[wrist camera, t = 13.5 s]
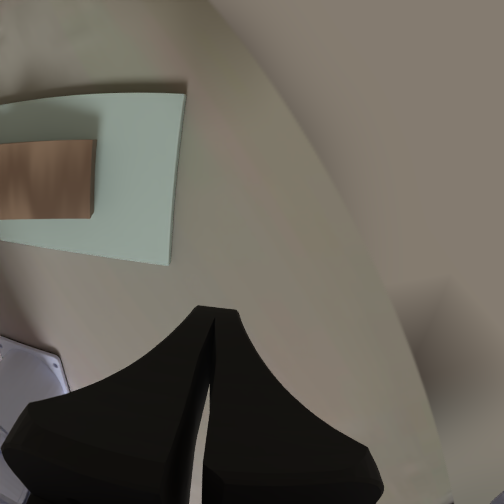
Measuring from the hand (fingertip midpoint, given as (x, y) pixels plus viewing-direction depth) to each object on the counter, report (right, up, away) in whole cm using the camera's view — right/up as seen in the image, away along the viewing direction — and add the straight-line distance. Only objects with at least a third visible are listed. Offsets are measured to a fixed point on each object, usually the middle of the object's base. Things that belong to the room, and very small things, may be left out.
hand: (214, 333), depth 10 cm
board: (-17, +8, +6) cm, 20 cm away
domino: (-8, +7, +6) cm, 12 cm away
